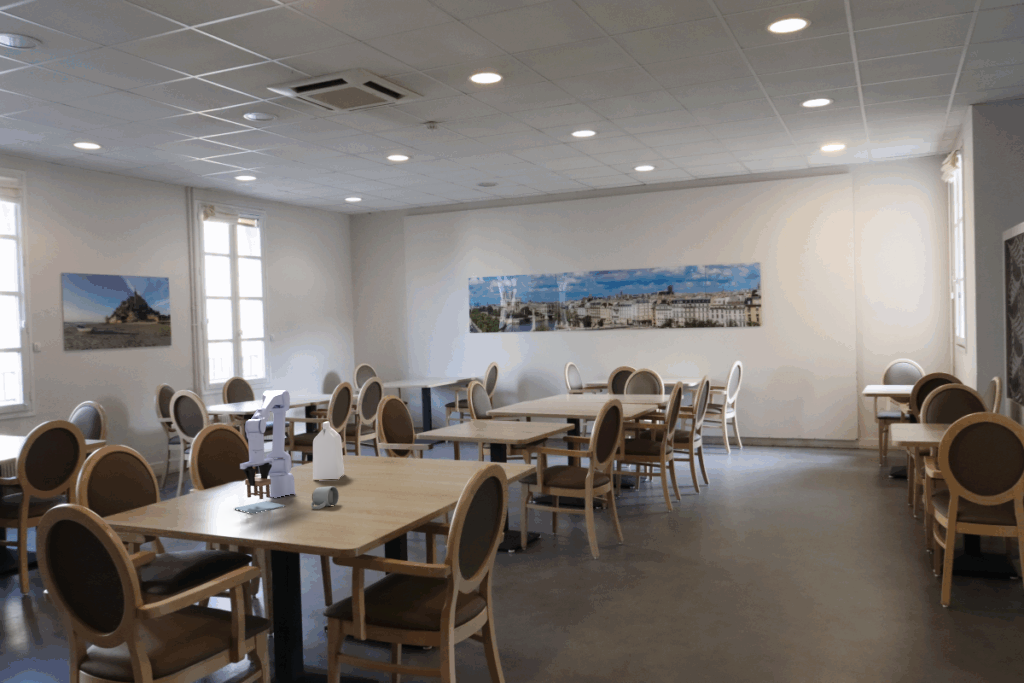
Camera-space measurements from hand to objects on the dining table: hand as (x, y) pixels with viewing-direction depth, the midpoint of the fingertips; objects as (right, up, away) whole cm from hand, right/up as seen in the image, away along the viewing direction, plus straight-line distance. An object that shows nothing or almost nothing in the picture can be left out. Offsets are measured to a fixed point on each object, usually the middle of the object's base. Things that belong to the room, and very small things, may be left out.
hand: (258, 484), depth 298 cm
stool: (0, -5, 0) cm, 5 cm away
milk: (+14, -8, +59) cm, 61 cm away
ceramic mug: (+26, -9, -2) cm, 28 cm away
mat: (0, -9, 0) cm, 9 cm away
